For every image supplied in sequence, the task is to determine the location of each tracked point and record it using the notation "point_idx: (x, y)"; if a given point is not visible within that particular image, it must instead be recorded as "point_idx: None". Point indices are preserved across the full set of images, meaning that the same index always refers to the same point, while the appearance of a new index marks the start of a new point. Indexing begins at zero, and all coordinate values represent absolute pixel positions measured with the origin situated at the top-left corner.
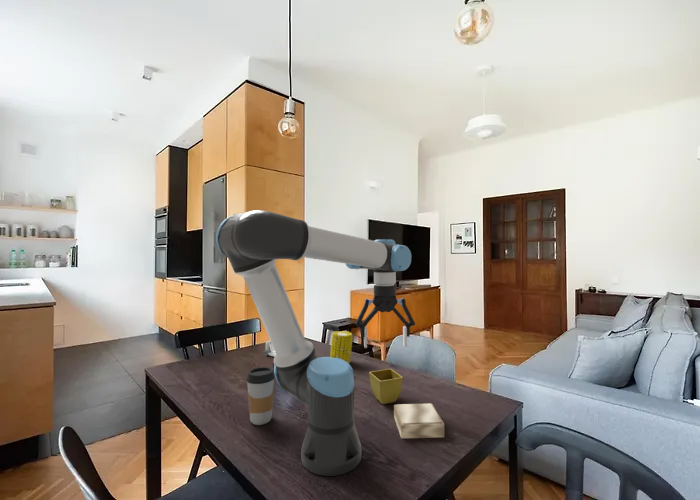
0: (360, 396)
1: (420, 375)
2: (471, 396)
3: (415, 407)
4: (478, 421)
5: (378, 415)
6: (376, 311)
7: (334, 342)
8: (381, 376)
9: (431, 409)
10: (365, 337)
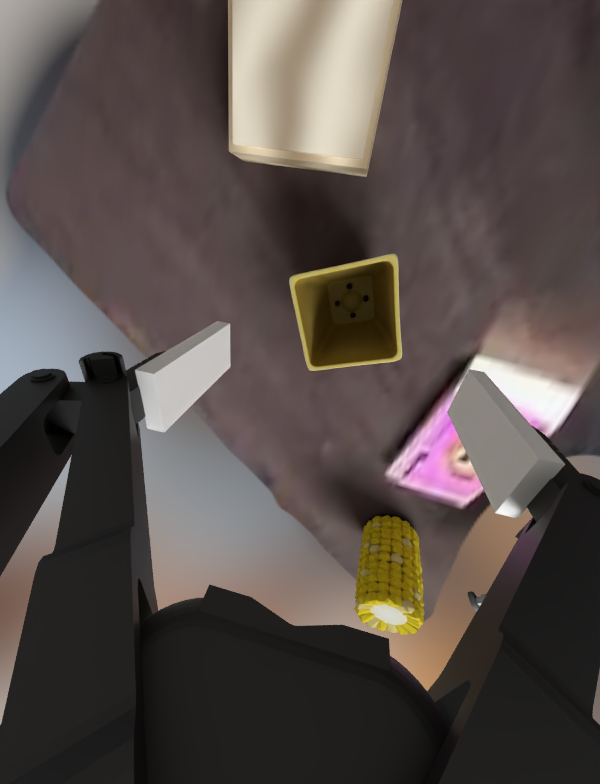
0: (415, 343)
1: (215, 417)
2: (113, 269)
3: (298, 112)
4: (117, 88)
5: (414, 196)
6: (531, 693)
7: (419, 589)
8: (349, 353)
9: (244, 78)
10: (510, 408)
